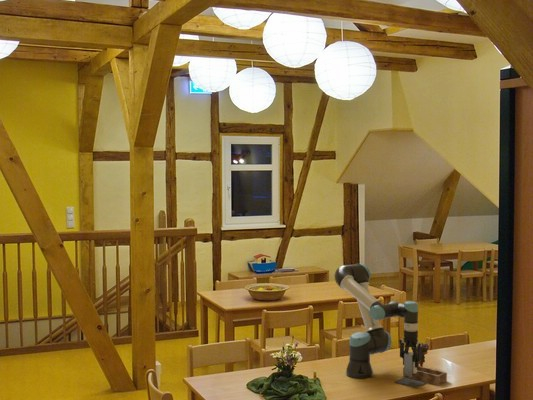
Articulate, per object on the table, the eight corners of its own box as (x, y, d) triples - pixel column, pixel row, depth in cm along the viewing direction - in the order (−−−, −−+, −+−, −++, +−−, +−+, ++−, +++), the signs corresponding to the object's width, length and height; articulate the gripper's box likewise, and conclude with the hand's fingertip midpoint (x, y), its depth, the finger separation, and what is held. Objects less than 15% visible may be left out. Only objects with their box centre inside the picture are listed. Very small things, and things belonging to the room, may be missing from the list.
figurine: (430, 367, 406) (431, 342, 405) (411, 375, 390) (412, 349, 389) (420, 364, 411) (420, 340, 410) (401, 372, 395) (401, 347, 394)
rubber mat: (394, 382, 378) (394, 381, 378) (404, 378, 385) (404, 377, 385) (416, 388, 368) (416, 387, 368) (426, 383, 376) (426, 382, 376)
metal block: (404, 375, 376) (404, 353, 376) (408, 373, 380) (409, 351, 379) (411, 376, 373) (412, 355, 372) (416, 374, 377) (417, 353, 376)
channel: (403, 376, 389) (403, 367, 388) (411, 372, 395) (411, 364, 395) (438, 385, 373) (438, 376, 373) (446, 381, 380) (446, 372, 380)
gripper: (393, 328, 379) (392, 369, 380) (421, 334, 366) (421, 376, 368) (400, 326, 384) (400, 367, 385) (429, 331, 372) (428, 373, 373)
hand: (410, 371), depth 376 cm, fingers closed on metal block, 5 cm apart
